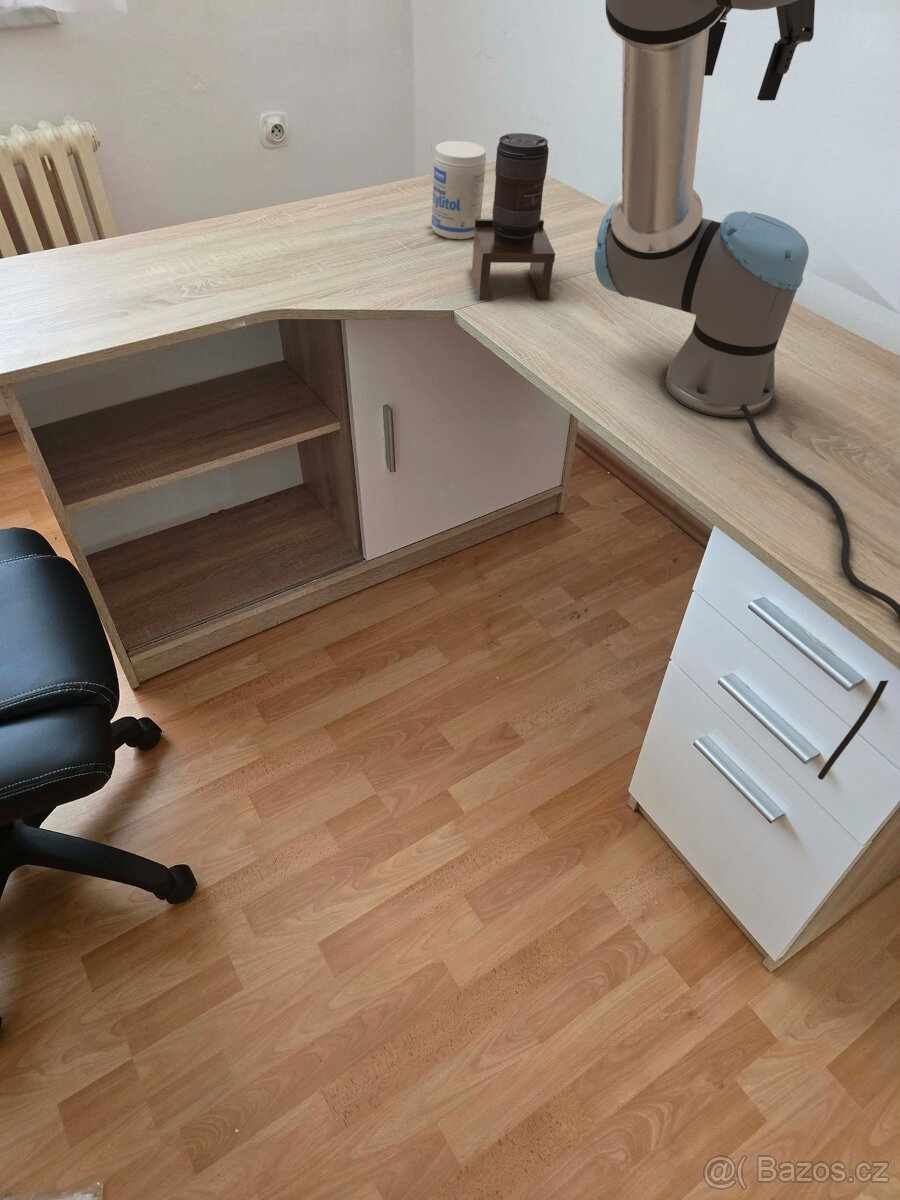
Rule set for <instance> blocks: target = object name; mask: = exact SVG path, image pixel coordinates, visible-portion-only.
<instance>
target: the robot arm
mask: <svg viewBox="0 0 900 1200" xmlns="http://www.w3.org/2000/svg"><path fill="white" fill-rule="evenodd" d="M815 8H816V0H605V18H606V22H607V24H608V26H609V28H610V30H611V32H613V34H615V35H616V36H617V37H618V38H620V39H621V181H622V182H621V188H622V189H621V194H620V195H619V196H618V198H617V200H616V201H615V202H613V203H612V204H610V206H609V207H608V208H607V210H606V212H605V214H604V216H603V218H602V220H601V222H600V225H599V229H598V232H597V235H596V244H597V245H596V248H595V250H594V269H595V273H596V278H597V280H598V281H599V283H600V284H601V286H602V287H603V288H605V289H606V290H608V291H611V292H615V293H617V294H618V295H620V296H621V297H622V296H623V297H626V298H633V299H636V300H639V301H644V302H647V303H652V304H656V305H659V306H663V307H667V308H671V309H675V310H679V311H681V312H685V313H689V314H691V315H695V320H694V323H693V327H692V330H691V332H690V334H689V335H688V337H687V339H686V340H685V342H684V343H683V345H682V346H681V348H680V349H679V351H678V352H677V353H676V355H675V357H674V358H673V359H672V361H671V363H670V364H669V366H668V369H667V372H666V376H665V387H666V389H667V391H668V392H669V394H670V395H671V396H672V397H673V398H674V399H675V400H676V401H678V403H680V404H682V405H683V406H685V407H688V408H689V409H692V410H694V411H696V412H699V413H703V414H706V415H710V416H714V417H719V418H720V417H721V418H732V419H733V418H734V419H735V418H745V420H746V421H747V423H748V426H749V428H750V431H751V433H752V435H753V437H754V438H755V440H756V441H757V442H758V444H759V445H760V447H761V448H762V449H763V450H764V451H765V453H767V454H768V456H770V457H771V458H772V459H773V460H774V461H775V462H777V464H779V465H780V466H781V467H782V468H784V470H786V471H787V472H788V473H790V474H791V475H793V476H794V477H795V478H797V479H799V480H800V481H802V482H803V483H805V484H806V485H808V486H809V487H812V488H813V489H814V490H816V491H817V492H818V493H819V494H820V495H821V496H823V497H824V499H825V500H826V501H827V502H828V503H829V505H830V506H831V508H832V510H833V511H834V514H835V517H836V520H837V522H838V523H837V524H838V526H839V530H840V535H841V538H842V548H841V556H840V557H841V559H840V560H841V566H842V569H843V572H844V574H845V576H846V578H847V579H848V581H850V583H852V584H853V585H854V586H855V587H856V588H857V589H859V590H861V591H863V592H864V593H867V594H868V595H870V596H872V597H875V598H876V599H878V600H880V601H881V602H883V603H885V604H886V605H888V606H889V607H890V608H891V609H892V610H893V611H894V612H895V613H896V614H897V617H898V619H899V620H900V604H899V603H898V602H897V601H896V600H895V599H894V598H892V597H891V596H889V595H887V594H885V592H882V591H880V590H878V589H876V588H874V587H872V586H869V585H868V584H866V583H865V582H863V581H862V580H860V579H859V578H858V577H857V576H856V575H855V574H854V572H853V570H852V568H851V566H850V561H849V560H850V559H849V554H850V546H851V544H850V543H851V542H850V534H849V531H848V527H847V524H846V523H847V522H846V520H845V516H844V514H843V510H842V509H841V506H840V504H839V503H838V502H837V500H836V499H835V498H834V496H833V495H832V494H831V493H830V492H829V491H828V490H827V489H826V488H824V487H823V486H822V485H821V484H820V483H818V482H817V481H815V480H813V479H812V478H810V477H809V476H807V475H805V474H804V473H802V472H800V471H799V470H797V469H796V468H795V467H793V466H792V465H791V464H790V463H789V462H787V460H785V459H784V458H782V457H781V456H780V455H779V454H778V453H777V452H776V451H775V450H774V449H773V448H772V447H771V446H770V444H768V443H767V442H766V440H765V438H763V436H762V435H761V434H760V432H759V430H758V427H757V425H756V422H755V420H754V418H753V416H754V415H756V414H760V413H762V412H763V411H764V410H765V409H767V407H768V406H769V405H770V402H771V400H772V397H773V395H774V391H775V366H776V365H775V361H776V358H775V357H776V348H777V346H778V343H779V340H780V338H781V335H782V332H783V330H784V327H785V323H786V321H787V319H788V316H789V313H790V309H791V307H792V304H793V301H794V300H795V296H796V293H797V292H798V291H797V290H798V289H799V288H800V287H801V285H802V283H803V281H804V278H803V276H804V272H805V270H806V265H807V262H808V260H809V255H810V251H809V250H810V249H809V244H808V242H807V240H806V239H805V237H804V236H803V235H802V234H801V233H800V232H799V231H798V230H797V229H796V228H794V227H792V226H791V225H790V224H788V223H786V222H784V221H783V220H780V219H778V218H775V217H773V216H770V215H767V214H764V213H760V212H755V211H751V212H748V211H744V210H743V211H742V210H741V211H734V212H731V213H728V214H727V215H726V216H725V217H724V219H722V221H721V222H720V221H715V220H712V219H708V218H705V217H703V211H704V207H703V202H702V200H701V196H700V195H699V194H698V193H697V191H696V190H695V189H694V180H695V170H696V161H697V154H698V153H697V152H698V141H699V132H700V123H701V113H702V104H703V103H702V102H703V91H704V82H705V77H712V76H713V75H714V71H715V67H716V63H717V60H718V57H719V53H720V50H721V46H722V43H723V38H724V35H725V31H726V28H727V24H728V22H726V21H727V20H728V18H727V15H728V14H729V13H730V12H731V11H732V10H733V9H736V10H743V11H759V10H770V9H775V10H776V17H777V23H778V24H777V25H778V30H779V37H780V38H779V39H778V40H777V41H776V42H774V44H773V46H772V51H771V53H770V56H769V60H768V62H767V67H766V69H765V73H764V76H763V79H762V82H761V85H760V88H759V92H758V93H757V98H756V100H758V101H761V102H762V101H776V99H777V96H778V92H779V90H780V86H781V83H782V80H783V78H784V75H785V74H787V73H788V72H789V70H790V67H791V64H792V60H793V58H794V54H795V52H796V49H797V47H798V45H800V44H803V43H810V42H811V41H812V40H813V38H814V35H815V34H814V33H815V32H814V31H815V11H816V9H815ZM888 683H889V680H880V681H879V682H878V685H877V687H876V688H875V690H874V692H873V694H872V696H871V698H870V700H869V701H868V703H867V705H866V706H865V708H864V710H862V712H861V714H860V716H859V717H858V719H857V720H856V721H855V723H854V724H853V726H852V727H851V729H849V731H848V733H847V734H846V735H845V737H844V738H843V739H842V741H840V743H839V745H838V746H837V747H836V749H835V750H834V751H833V752H832V754H831V755H830V756H829V758H828V760H827V761H826V763H825V764H824V766H823V767H822V768H821V770H820V772H819V773H818V774H817V778H818V779H819V780H824V779H825V777H826V776H827V775H828V773H829V771H830V770H831V769H832V767H833V765H834V764H835V763H836V761H837V760H838V759H839V758H840V756H841V755H842V754H843V752H844V750H845V749H846V748H847V747H848V745H849V744H850V743H851V742H852V740H853V739H854V737H855V736H856V735H857V734H858V732H859V731H860V729H861V728H862V726H864V724H865V722H866V721H867V719H868V718H869V716H870V715H871V713H872V712H873V710H874V708H875V707H876V705H877V703H878V702H879V700H880V698H881V697H882V694H883V693H884V692H885V689H886V686H887V685H888Z"/></svg>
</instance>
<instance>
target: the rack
mask: <svg viewBox="0 0 900 1200" xmlns="http://www.w3.org/2000/svg"><path fill="white" fill-rule="evenodd" d="M544 225H545V220H544V219H541V218H540V221H539V225H538V230H537V232H536V233H535V235H534V240H533V242H532V243H531V244H529V245H525V246H508V245H504V244H501V243H499V242H498V241H496V240H495V238H494V229H493V218H481V219H475V225H474V236H473V247H472V262H471V263H472V265H471V274H472V277H473V281H474V286H475V289H476V294H477V297H478V300H480V301H481V300H483V301H485V300H489V291H490V289H489V288H490V278H491V277H490V276H491V265H492V263H493V264H494V263H496V264H497V263H501V264H503V263H507V264H509V263H511V264H512V263H514V264H516V263H519V264H521V263H523V264H528V263H529V272H528V273H529V275H530V278H531V279H532V283H533V285H534V288H535V291H536V293H537V296H538V298H539V300H540V301H541V300H544V301H545V300H546V301H548V300H549V298H550V291H551V290H550V289H551V282H552V275H553V267H554V264H555V259H556V252H555V250H554V247H553V246H552V244H551V241H550V239H549V237H548V235H547V232H546V231H545V228H544Z"/></svg>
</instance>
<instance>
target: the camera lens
mask: <svg viewBox="0 0 900 1200" xmlns="http://www.w3.org/2000/svg"><path fill="white" fill-rule="evenodd" d="M498 139H499V142H498V144H497V147H496V157H495V172H494V173H495V185H494V196H493V203H492V219H493V229H494V238H495V240H496V241H498V242H499V243H501V244H504V245H508V246H525V245H529V244H531V243H532V242H533V240H534V235H535V233H536V232H537V230H538V225H539V221H540V219H541V216H542V215H541V214H542V202H543V193H544V186H545V185H544V183H545V180H546V173H547V170H548V161H549V154H550V153H549V149H550V148H549V146H548V143H549V140H548V139H547V138H545V137H544V136H541V135H538V134H533V133H523V132H515V133H514V132H513V133H507V134H504V135H501V136H500V137H499V138H498Z"/></svg>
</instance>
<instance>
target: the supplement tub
mask: <svg viewBox="0 0 900 1200" xmlns="http://www.w3.org/2000/svg"><path fill="white" fill-rule="evenodd" d="M486 155H487V151H486V148H485V147H483V146H482V145H480V144H477V143H474V142H472V141H464V140H447V141H442V142H440V143H438V144H437V145H436V146H435V153H434V157H433V158H434V159H433V178H432V179H433V181H432V199H431V201H432V205H431V229H432V231H433V232H434V233H435V234H437V235H438V236H440V237H443V238H446V239H450V240H454V239H455V240H467V239H471V238H474V225H475V219H482V211H483V210H482V209H483V198H484V187H485V175H486V163H487V158H486Z"/></svg>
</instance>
